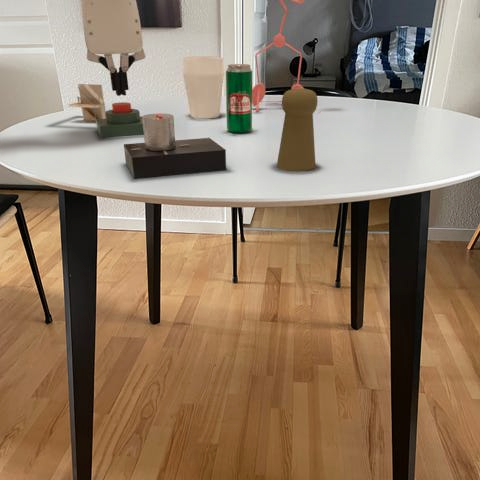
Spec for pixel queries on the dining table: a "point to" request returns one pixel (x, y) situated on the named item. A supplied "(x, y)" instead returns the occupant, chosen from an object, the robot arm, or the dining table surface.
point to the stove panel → (175, 158)
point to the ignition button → (121, 107)
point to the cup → (203, 85)
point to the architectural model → (90, 102)
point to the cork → (298, 131)
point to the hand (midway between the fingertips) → (121, 94)
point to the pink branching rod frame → (258, 89)
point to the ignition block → (120, 124)
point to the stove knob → (159, 132)
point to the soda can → (239, 98)
